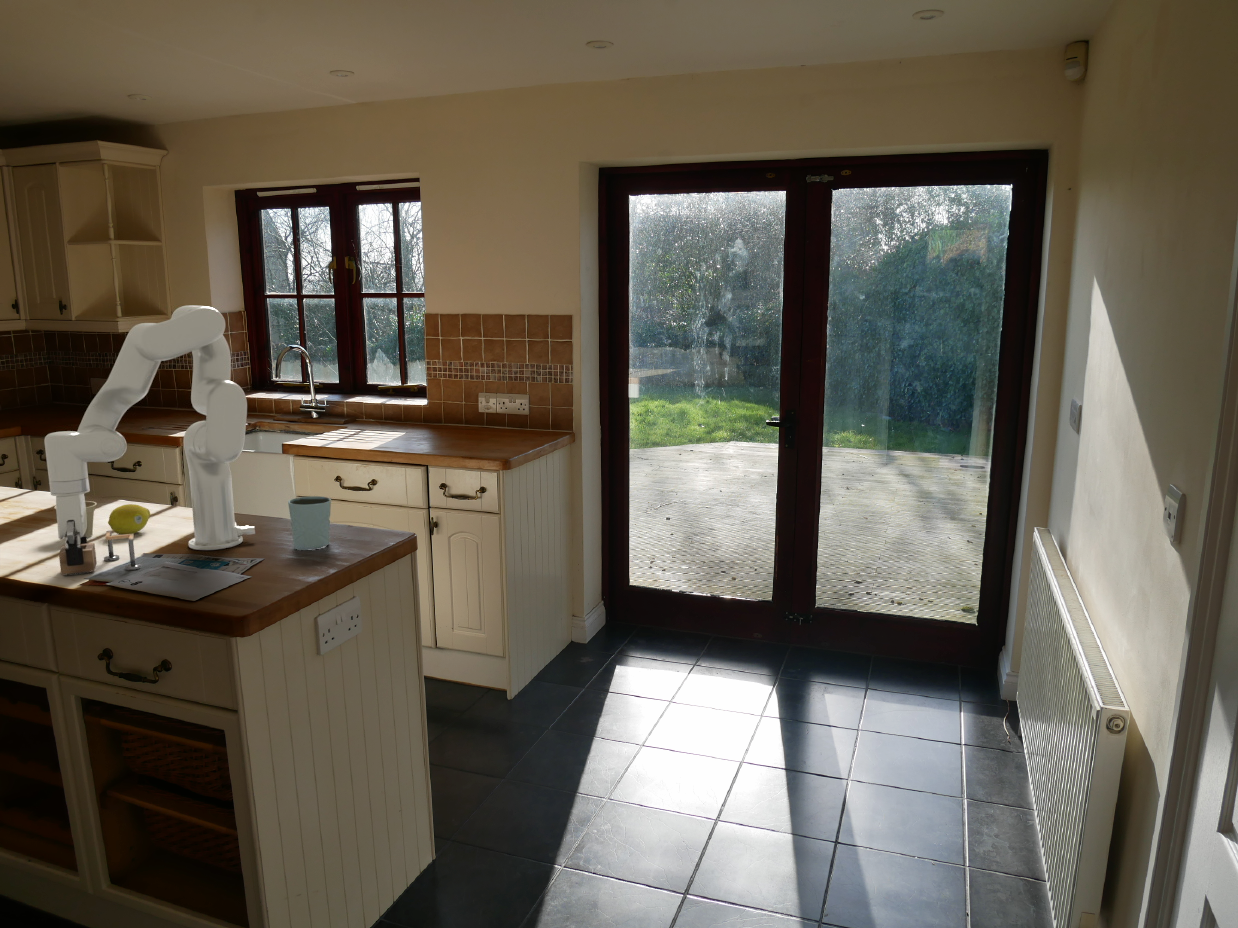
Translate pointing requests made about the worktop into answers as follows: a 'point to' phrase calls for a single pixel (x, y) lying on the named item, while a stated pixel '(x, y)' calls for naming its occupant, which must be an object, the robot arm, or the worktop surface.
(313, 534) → the light blue cup
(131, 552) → the buzz wire
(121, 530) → the lemon
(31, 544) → the worktop surface
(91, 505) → the flower pot
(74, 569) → the open wooden box
